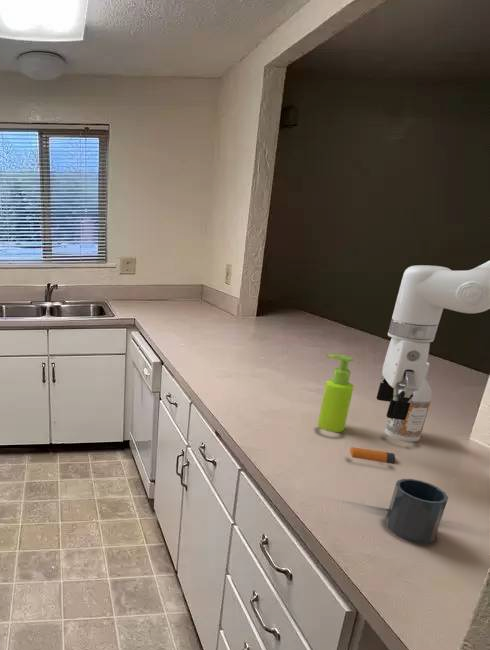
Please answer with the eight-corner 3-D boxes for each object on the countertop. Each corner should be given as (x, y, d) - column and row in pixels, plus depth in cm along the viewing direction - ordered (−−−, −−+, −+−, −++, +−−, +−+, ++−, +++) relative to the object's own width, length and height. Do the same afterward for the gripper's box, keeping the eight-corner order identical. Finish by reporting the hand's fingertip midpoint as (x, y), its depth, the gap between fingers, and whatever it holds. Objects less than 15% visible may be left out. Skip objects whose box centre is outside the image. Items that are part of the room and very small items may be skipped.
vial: (350, 462, 96) (353, 450, 95) (348, 456, 99) (351, 444, 98) (393, 469, 94) (396, 457, 93) (389, 463, 96) (392, 451, 95)
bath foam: (394, 446, 103) (416, 367, 96) (377, 433, 109) (396, 357, 103) (424, 447, 103) (448, 367, 96) (405, 433, 109) (427, 358, 102)
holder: (427, 521, 77) (439, 483, 75) (440, 547, 71) (454, 507, 69) (381, 512, 80) (391, 475, 77) (390, 536, 74) (402, 497, 71)
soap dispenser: (319, 423, 115) (334, 351, 108) (347, 432, 110) (364, 357, 103) (308, 429, 112) (322, 355, 105) (336, 439, 107) (352, 362, 100)
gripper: (450, 343, 77) (423, 429, 83) (421, 322, 92) (400, 397, 98) (400, 339, 79) (377, 423, 85) (380, 319, 94) (362, 392, 100)
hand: (389, 409), depth 91 cm, fingers open, 9 cm apart
